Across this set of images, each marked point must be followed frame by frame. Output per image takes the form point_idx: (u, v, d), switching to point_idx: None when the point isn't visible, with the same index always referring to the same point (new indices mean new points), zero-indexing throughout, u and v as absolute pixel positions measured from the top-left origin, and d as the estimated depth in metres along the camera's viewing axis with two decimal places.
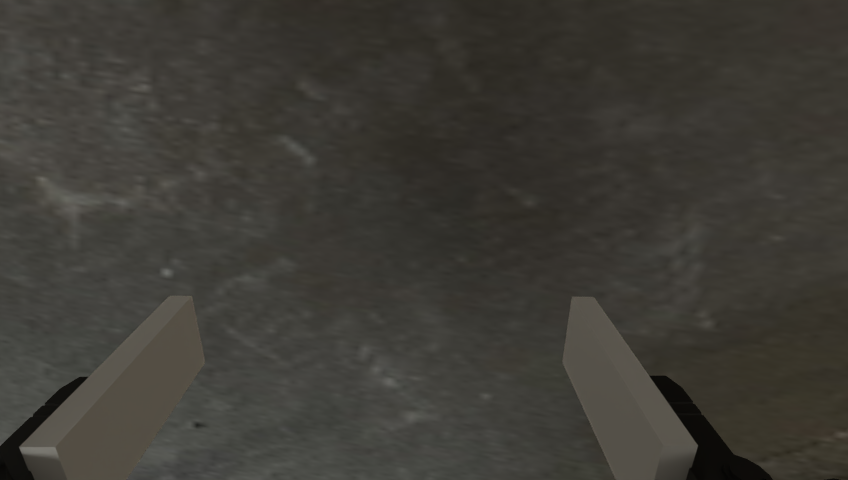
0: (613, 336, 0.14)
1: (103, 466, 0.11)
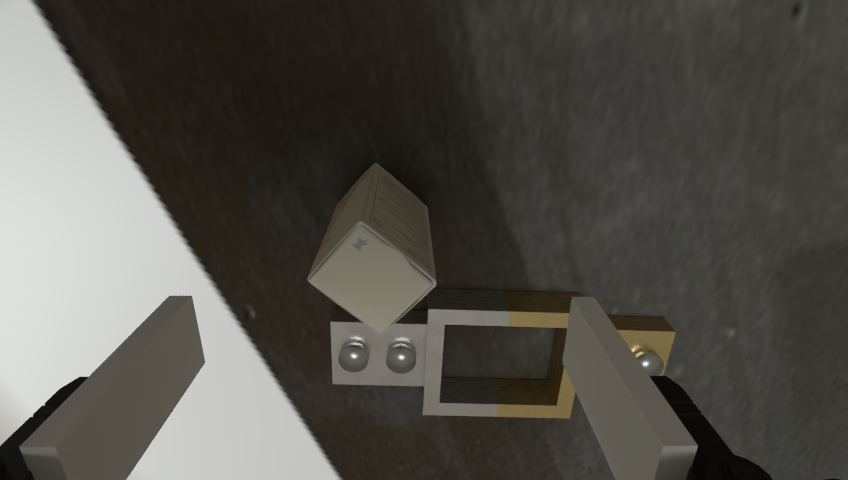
0: (613, 336, 0.14)
1: (103, 466, 0.11)
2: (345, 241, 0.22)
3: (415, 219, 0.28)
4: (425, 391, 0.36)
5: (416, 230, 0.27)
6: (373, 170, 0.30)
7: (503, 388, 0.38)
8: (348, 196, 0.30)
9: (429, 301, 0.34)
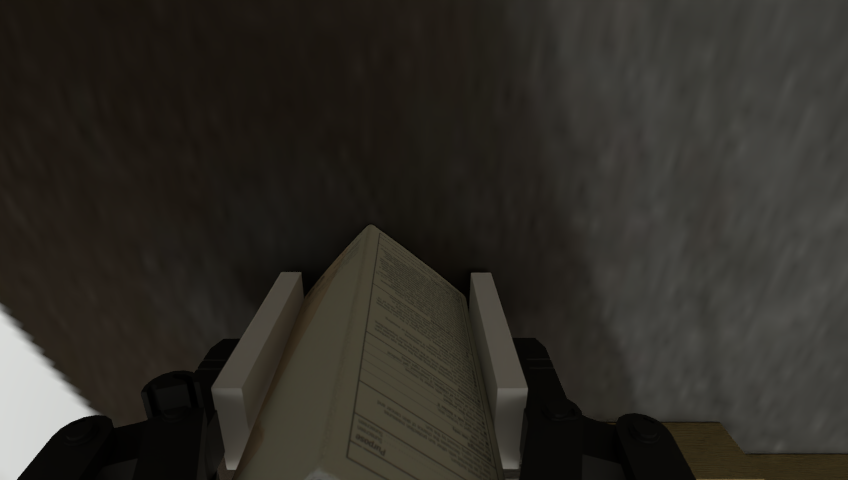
0: (494, 304, 0.16)
1: None
2: None
3: (452, 351, 0.14)
4: None
5: (458, 392, 0.12)
6: (365, 245, 0.16)
7: None
8: (319, 295, 0.16)
9: None
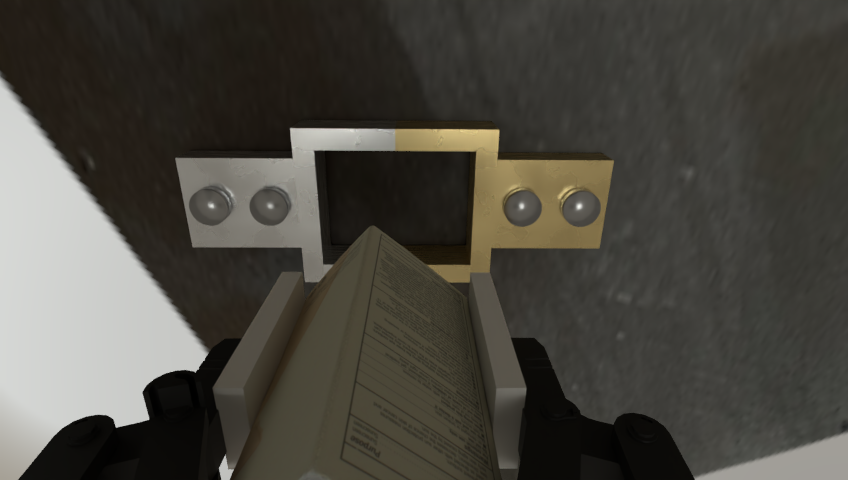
0: (493, 304, 0.16)
1: None
2: None
3: (451, 353, 0.14)
4: (303, 248, 0.28)
5: (456, 393, 0.12)
6: (366, 247, 0.16)
7: None
8: (320, 296, 0.16)
9: (296, 125, 0.27)
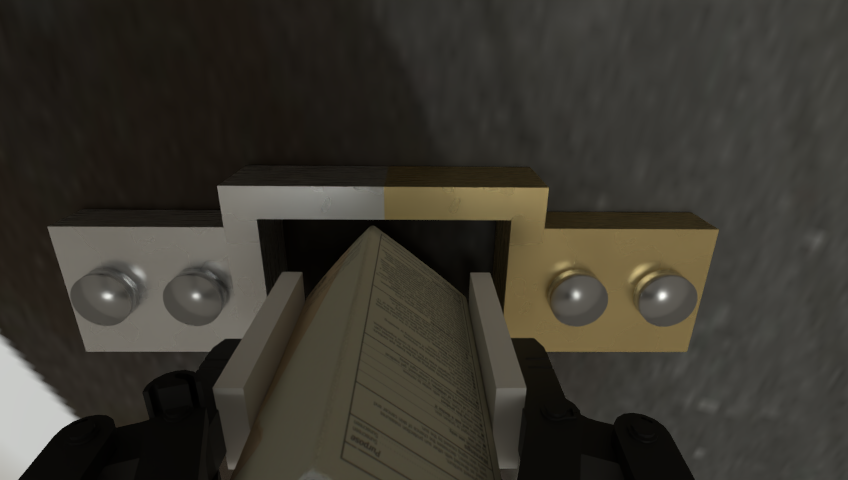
0: (493, 304, 0.16)
1: None
2: None
3: (451, 353, 0.14)
4: None
5: (456, 394, 0.12)
6: (366, 247, 0.16)
7: None
8: (320, 296, 0.16)
9: (230, 177, 0.17)
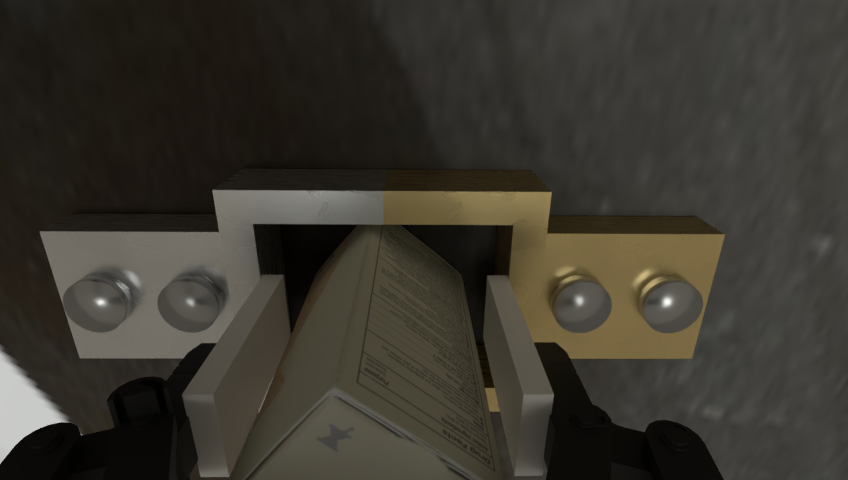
0: (513, 308, 0.15)
1: (237, 417, 0.13)
2: (301, 431, 0.10)
3: (448, 317, 0.16)
4: None
5: (452, 348, 0.14)
6: (371, 225, 0.17)
7: None
8: (329, 270, 0.18)
9: (226, 181, 0.17)
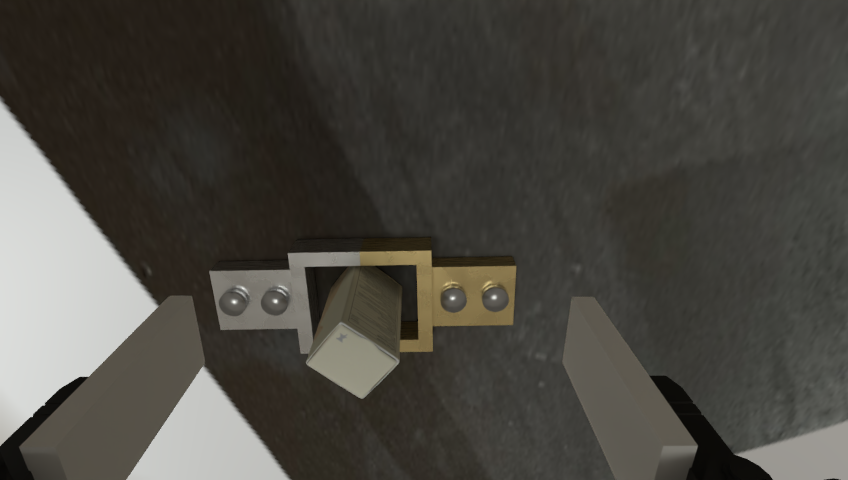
0: (613, 336, 0.14)
1: (103, 466, 0.11)
2: (331, 336, 0.31)
3: (388, 304, 0.37)
4: (299, 331, 0.40)
5: (387, 315, 0.36)
6: None
7: None
8: (338, 285, 0.39)
9: (292, 248, 0.39)
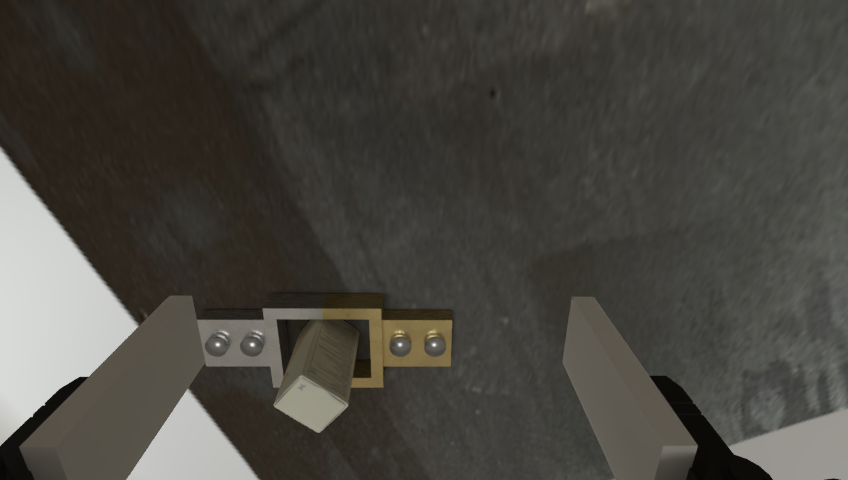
0: (613, 336, 0.14)
1: (103, 466, 0.11)
2: (293, 385, 0.39)
3: (344, 352, 0.45)
4: (271, 369, 0.48)
5: (342, 363, 0.44)
6: None
7: None
8: (304, 333, 0.47)
9: (266, 303, 0.47)
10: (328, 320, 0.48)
